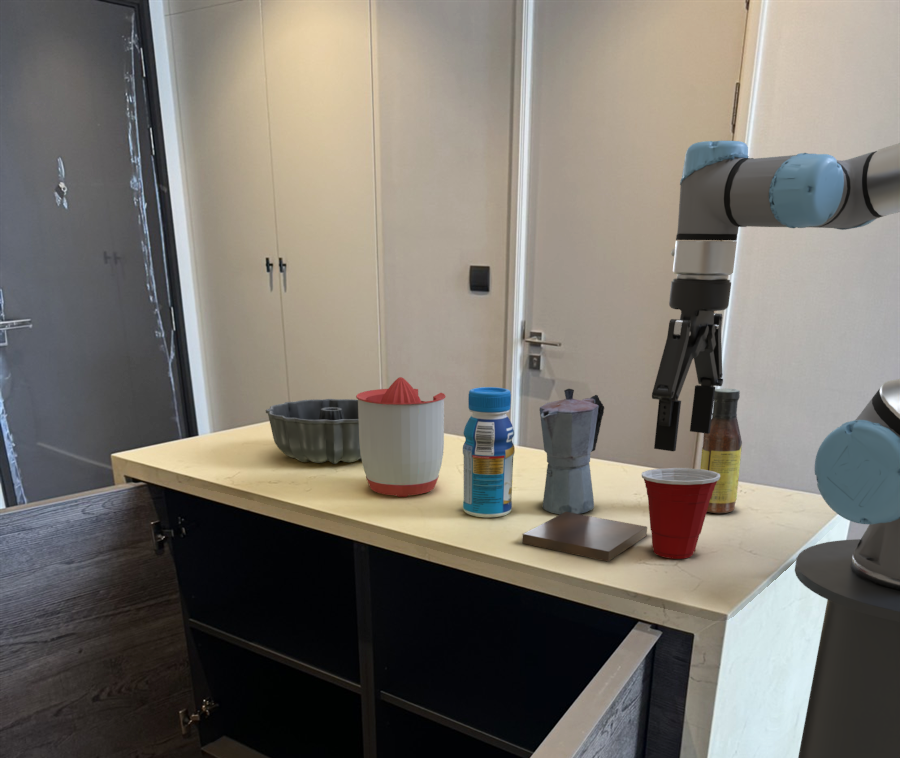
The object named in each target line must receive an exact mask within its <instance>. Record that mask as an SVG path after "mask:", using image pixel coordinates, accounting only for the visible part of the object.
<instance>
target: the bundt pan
mask: <svg viewBox="0 0 900 758" xmlns="http://www.w3.org/2000/svg"><path fill="white" fill-rule="evenodd" d="M265 413H266V414H267V416H268V421H269V425H270V429H271V433H272V438H273V441H274V444H275V445H276V447H277V448H278V449H279V450H280V451H281V452H282V453H283V454H284V455H285V456H287V457H289V458H290V459H291V458H292V459H295V460H297V461H299V462H301V463H309V462H312V463H316V464H323V463H326V462H329V463H331V464H332V465H336V464H338V463H339V462H340V461H342V462H343V463H354V462H356V461H360V462H362V459H361V454H360V443H359V416H358V399H352V398H351V399H350V398H340V399H339V398H325V399H320V398H319V399H317V398H316V399H314V398H313V399H300V400H296V401H285V402H284V403H278V404H274V405H273V404H272V405H271V406H269V408H267V409H265Z"/></svg>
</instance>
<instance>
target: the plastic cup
mask: <svg viewBox="0 0 900 758" xmlns="http://www.w3.org/2000/svg"><path fill="white" fill-rule="evenodd" d="M641 478H642V479H643V481H644V484H645V488H646V495H647V503H648V514H649V526H650V532H651V544H652V545H651V547H652V551H653V553H654V554H655V555H656V556H659V557H661V558H666V559H674V560H681V559H688V558H691V557H692V556H693V555H694V552H695V551H696V548H697V546H698V545H697V544H698V542H699V538H700V535H701V533H702V530H703V526H704V523H705V519H706V515H707V513H708V512H707V509H708V506H709V502H710V499H711V497H712V493H713V491H714V488H715V485H716V483H717V481H718V480H719V479H720V474H719V473H716V472H714V471H708V470H703V469H700V468H691V467H665V468H664V467H663V468H655V469H648V470H644V471H642V472H641Z"/></svg>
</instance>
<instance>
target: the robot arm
mask: <svg viewBox="0 0 900 758" xmlns="http://www.w3.org/2000/svg"><path fill="white" fill-rule="evenodd" d="M683 161H684V162H683V168H682V175H681V178H680V181H679V186H680V189H679V204H678V220H677V221H678V222H677V233H676V235H675V236H676V237H675V246H674V248H672V250H671V251H670V252H671V253H670V254H671V256H672V257H673V267H672V273H673V274H674V275H676V278H673V279H672V280H671V281H670V291H669V292H670V293H669V301H668V305H669V307H670V308H671V309H672V310H680V316H679V319H678V318H677V319H676V318H671V319H670V320H669V322H668V329H667V337H666V340H665V344H664V348H663V351H662V356H661V358H660V363H659V366H658V370H657V373H656V378H655V381H654V385H653V389H652V392H651V399H652V400H658V408H657V415H656V416H657V417H656V426H655V436H654V446H653V449H654V450H661V451H667V452H675V451H676V450H677V441H678V433H679V423H680V415H681V406H682V400H680V399H679V398H680V395H681V392H682V389H683V387H684V385H685V381H686V379H687V376H688V373H689V370H690V368H691V366H692V362H694V367H695V371H696V372H695V373H696V377H697V378H696V379H697V383H698V384H696V385H695V386H694V391H693V401H692V408H691V417H690V426H689V432H692V433H699V434H704V433H706V434H708V433H710V427H711V419H712V413H713V407H714V395H715V389H716V387H722V386H723V384H724V378H723V349H722V348H723V347H722V344H723V343H722V327H723V326H722V325H723V324H722V323H723V314H722V313H715V312H720V311H724V310H727V309H728V307H729V304H730V297H731V288H732V282H731V280H730V279H728V276H731V275H733V273H734V268H735V260H736V252H737V251H736V250H737V239H738V233H739V228H747V227H754V228H756V227H757V228H759V227H760V228H789V229H796V228H797V229H806V228H817V229H818V228H820V229H836V230H841V231H844V230H851V229H857V228H861V227H865V226H868V225H870V224H871V223H873V222H874V221H876V220H877V219H880V218H882V217H887V216H889V215H894V214H898V213H900V142H898V143H896V144H892V145H889V146H886V147H882V148H880V149H878V150H875V151H872V152H868V153H865V154H861V155H858V156H855V157H852V158H848V159H843V160H837V158H836V157H835V156H834V155H831V154H827V153H807V152H801V153H797V154H791V155H781V156H767V157H757V158H753V157H749V147H748V145H747V143H745V142H744V141H740V140H707V141H706V140H705V141H699V142H698V141H697V142H694V143H692V144H691V145H690V146H689V147H688V148H687V150H686V152H685V155H684V160H683ZM814 475H815V478H816V482H817V483H816V486H817V489H818V492H819V493H820V495H821V498H822V499H823V500H824V502H825V504H827V506H828V507H829V508H830V509H831V510H832V511H833V512H835V513H836V514H837V515H839V516H840V517H841V518H843V519H845V520H847V521H850V522H852V523H855V524H860V525H868V526H867V528H866V530H865V532H864V533H863V535H862V536H861V538H860V539H861V540H860V542H859V543H858V545H857V547H856V548H855V551H854V553H853V556H852V561H851V569H852V571H853V572H854V573H855V574H856V575H858V576H859V577H861V578H862V579H864V580H866V581H868V582H871V583H873V584H876V585H878V586H881V587H884V588H888V589H891V590H895V591H900V378H896V379H891V380H887V381H885V382H884V383H883V384H882V385H881V386H880V387H879V388H878V390H877V391H876V392H875V393H874V395H873V396H872V397H871V399H870V400H869V401H868V403H867V404H866V405H865V407H864V408H863V409H862V410H861V412H860V413H859V415H857V417H856V419H854V420H850V421H847V422H844V423H842V424H841V425H840V426H837V427H836V428H835V429H833V430H832V431H831V432H829V433H828V434H827V435H826V437H825V438H824V439H823V440H822V441H821V444H820V445H819V448H818V449H817V452H816V455H815V460H814Z"/></svg>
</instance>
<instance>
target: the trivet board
mask: <svg viewBox="0 0 900 758" xmlns="http://www.w3.org/2000/svg"><path fill="white" fill-rule="evenodd" d="M647 535H648V526H646V525H641V524H635V523H631V522H630V523H629V522H625V521H620V520H614V519H607V518H602V517H597V516H592V515H586V514H582V513H580V514H576V513H570V512H564V513H562V514H557V515H556V516H554V517H553V518H551V519H549V520H546V521H545V522H543V523H541V524H539V525H537V526H535V527H534V528H531V529H529V530H527V531H526V532H523V533H522V541H521V543H522V544H524V545H528V546H534V547H538V548H543V549H548V550H553V551H557V552H561V553H566V554H572V555H576V556H581V557H585V558H589V559H595V560H599V561H604V562H610V561H611V560H612V559H614V558H615V557H617V556H618V555H620V554H622V553H623V552H625V551H626V550H627V549H629V548H631V547H632V546H633V545H635V544H636V543H638V542H639V541H641V540H643V539H644V538H645V537H647Z"/></svg>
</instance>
